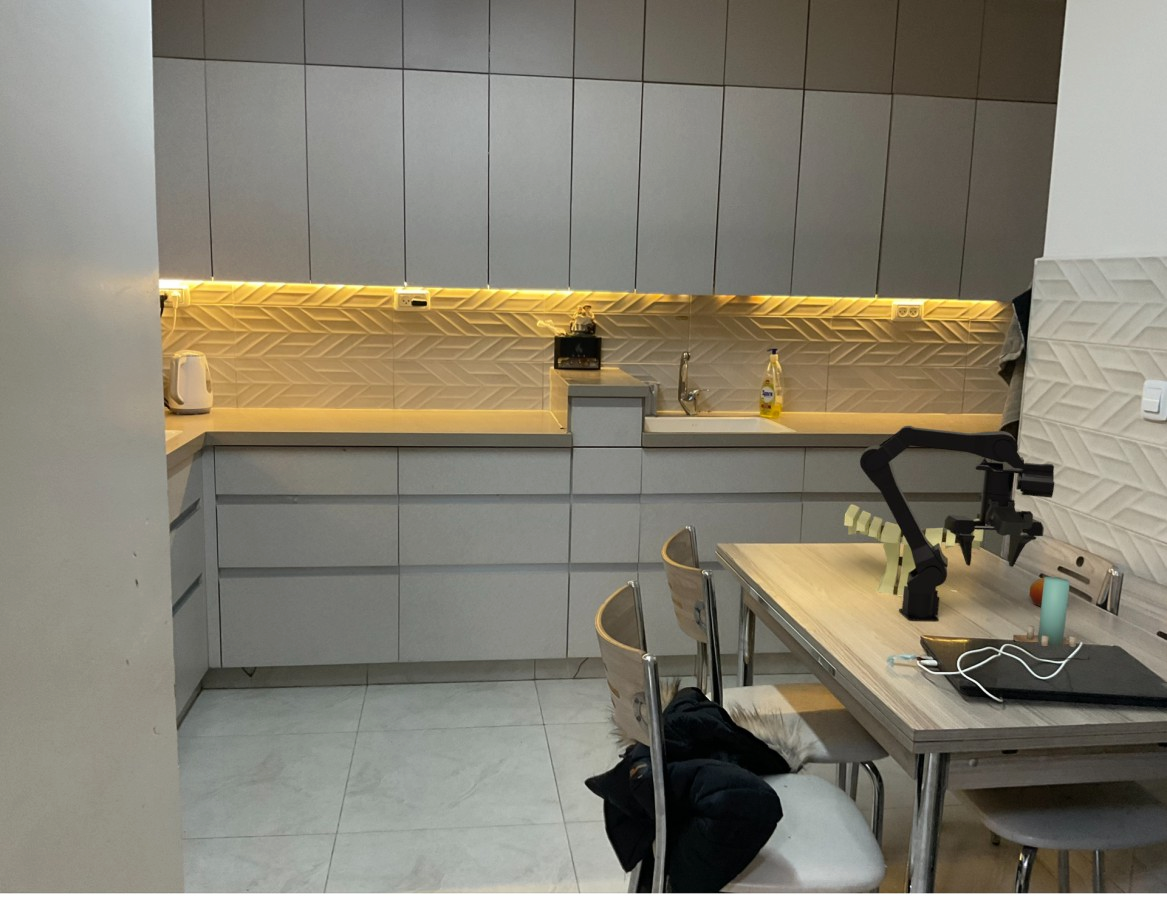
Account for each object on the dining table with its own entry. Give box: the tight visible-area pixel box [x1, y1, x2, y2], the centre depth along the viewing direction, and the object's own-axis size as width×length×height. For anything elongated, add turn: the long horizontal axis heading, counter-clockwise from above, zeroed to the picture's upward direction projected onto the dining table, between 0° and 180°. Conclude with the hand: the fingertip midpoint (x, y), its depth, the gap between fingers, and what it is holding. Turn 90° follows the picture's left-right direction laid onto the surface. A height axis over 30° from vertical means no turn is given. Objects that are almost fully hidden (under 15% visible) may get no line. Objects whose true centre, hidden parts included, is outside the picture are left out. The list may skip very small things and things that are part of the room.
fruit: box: [1029, 576, 1070, 608], centre depth 220 cm, size 8×8×8 cm
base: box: [1012, 625, 1077, 647], centre depth 192 cm, size 10×10×4 cm
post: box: [1037, 576, 1071, 645], centre depth 191 cm, size 4×4×13 cm
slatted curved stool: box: [843, 504, 984, 596], centre depth 230 cm, size 30×16×18 cm, turn 69°
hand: (989, 565), depth 203 cm, fingers open, 9 cm apart
